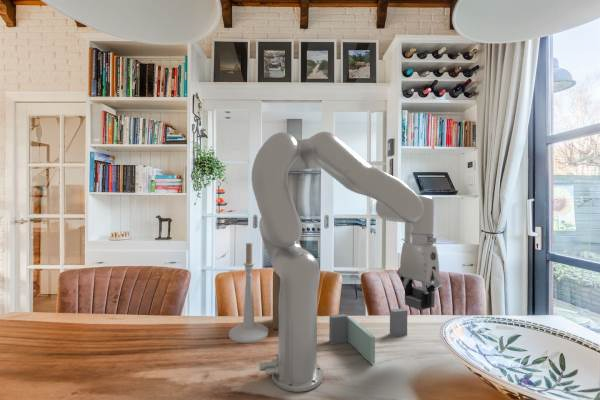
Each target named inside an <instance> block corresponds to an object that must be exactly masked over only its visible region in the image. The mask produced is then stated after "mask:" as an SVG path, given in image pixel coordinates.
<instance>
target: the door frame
mask: <svg viewBox="0 0 600 400" xmlns="http://www.w3.org/2000/svg"><path fill="white" fill-rule="evenodd" d="M347 316H348V315H346V314H345V313H339V314H330V315H329V330H328V331H329V333H328V334H329V339H328V340H329V343H330V344H331V345H333V344H342V343H347V342H348V340H347ZM389 335H390V336H392V337H393V338H395V337H403V336H408V310H407V309H405V308H404V307H403V308H395V309H394V308H393V309H389Z"/></svg>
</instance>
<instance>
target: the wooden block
mask: <svg viewBox="0 0 600 400" xmlns="http://www.w3.org/2000/svg"><path fill="white" fill-rule="evenodd" d="M279 293H280V277H279V276H278V274H277V273H276V272H275V270H274V269H273V273H272V328H273V329H274V330H279Z"/></svg>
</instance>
